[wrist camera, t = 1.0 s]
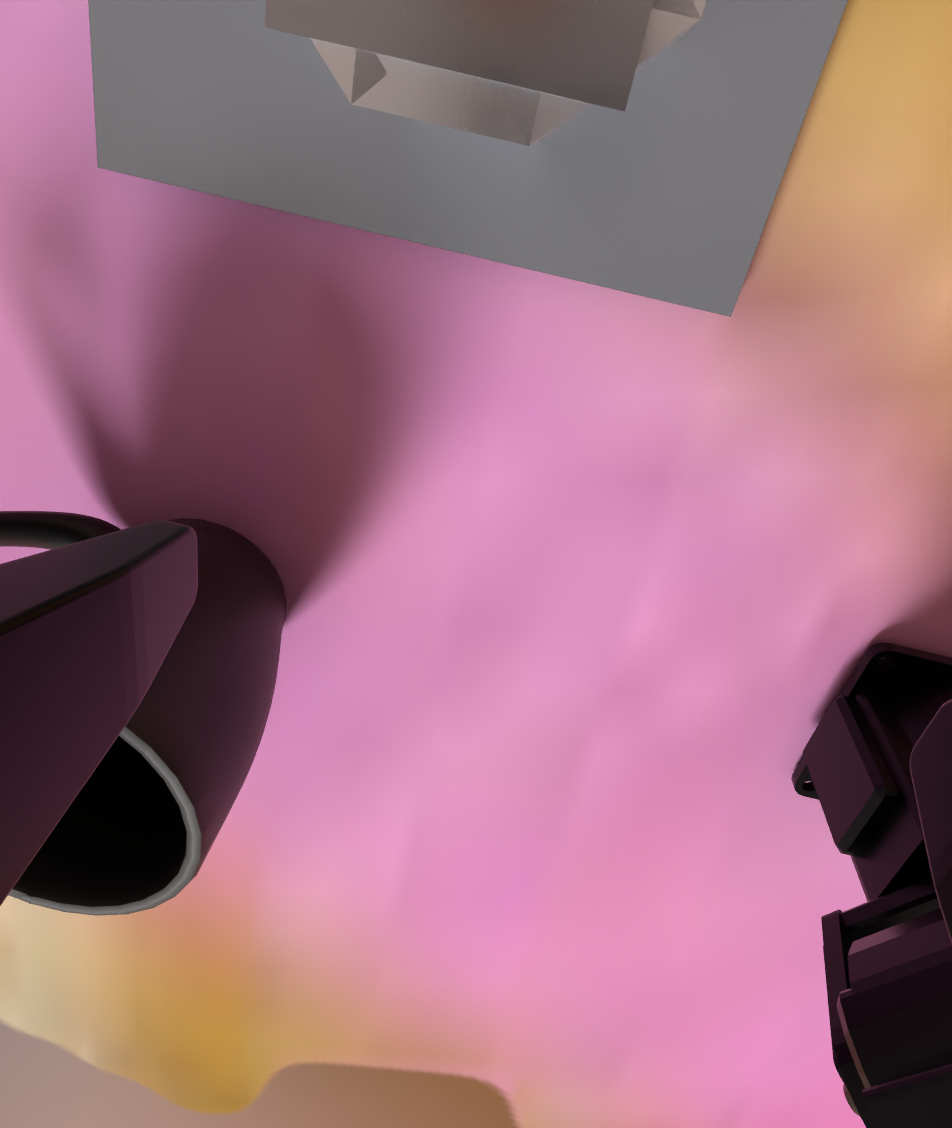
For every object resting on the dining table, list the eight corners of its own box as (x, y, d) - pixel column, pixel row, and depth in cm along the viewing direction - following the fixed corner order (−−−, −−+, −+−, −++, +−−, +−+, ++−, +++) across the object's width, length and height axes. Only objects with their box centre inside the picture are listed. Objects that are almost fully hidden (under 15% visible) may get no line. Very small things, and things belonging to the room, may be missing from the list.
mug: (64, 335, 22) (-251, 460, 13) (373, 600, 25) (271, 829, 17) (-48, 507, 25) (-352, 689, 17) (236, 719, 28) (96, 957, 20)
